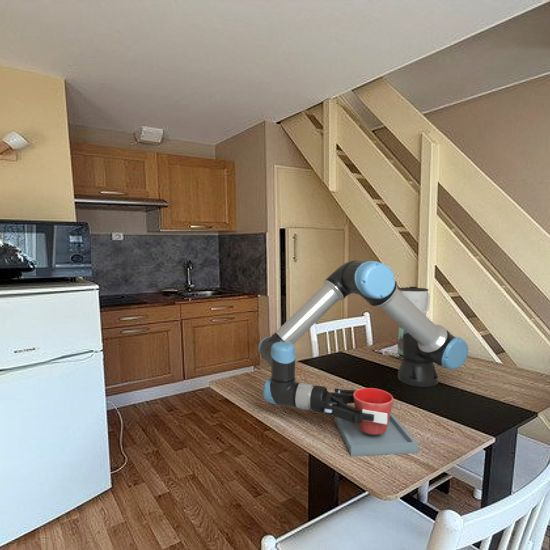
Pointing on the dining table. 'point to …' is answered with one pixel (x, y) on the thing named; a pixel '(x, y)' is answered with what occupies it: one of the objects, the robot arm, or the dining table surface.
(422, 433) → the dining table surface
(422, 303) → the juicer
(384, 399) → the flower pot
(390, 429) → the tray
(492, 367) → the dining table surface
